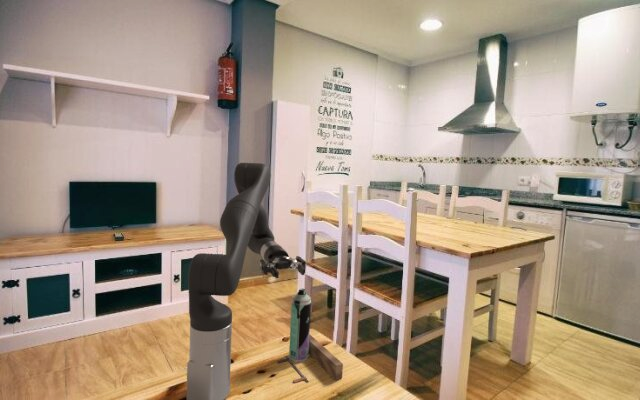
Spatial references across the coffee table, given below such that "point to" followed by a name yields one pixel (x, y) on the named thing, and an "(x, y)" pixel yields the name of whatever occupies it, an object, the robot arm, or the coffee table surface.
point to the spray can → (300, 326)
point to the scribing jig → (320, 360)
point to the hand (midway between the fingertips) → (290, 273)
